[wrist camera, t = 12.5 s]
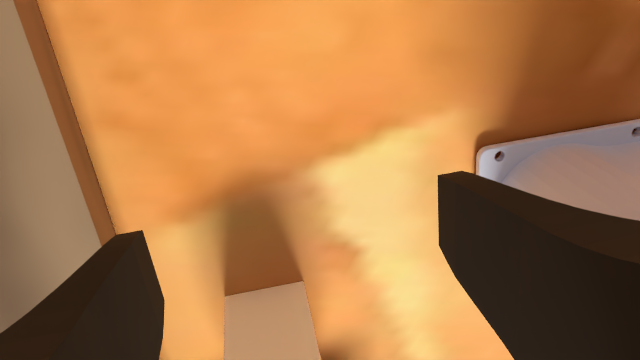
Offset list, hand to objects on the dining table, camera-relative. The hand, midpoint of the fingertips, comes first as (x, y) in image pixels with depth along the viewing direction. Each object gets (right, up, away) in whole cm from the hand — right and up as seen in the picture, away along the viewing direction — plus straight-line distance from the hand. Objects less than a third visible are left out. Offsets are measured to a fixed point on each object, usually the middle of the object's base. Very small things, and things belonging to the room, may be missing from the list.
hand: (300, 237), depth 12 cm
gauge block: (-2, -7, +14) cm, 16 cm away
